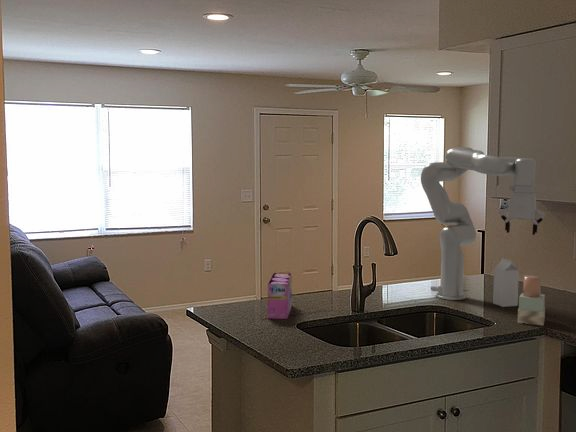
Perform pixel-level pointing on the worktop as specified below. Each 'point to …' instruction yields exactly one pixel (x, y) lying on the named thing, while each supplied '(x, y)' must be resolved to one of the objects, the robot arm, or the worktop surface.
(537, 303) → the sage block
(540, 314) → the birch block
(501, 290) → the milk carton
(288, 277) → the gum box
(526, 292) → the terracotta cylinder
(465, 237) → the robot arm
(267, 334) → the worktop surface
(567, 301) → the worktop surface
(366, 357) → the worktop surface
